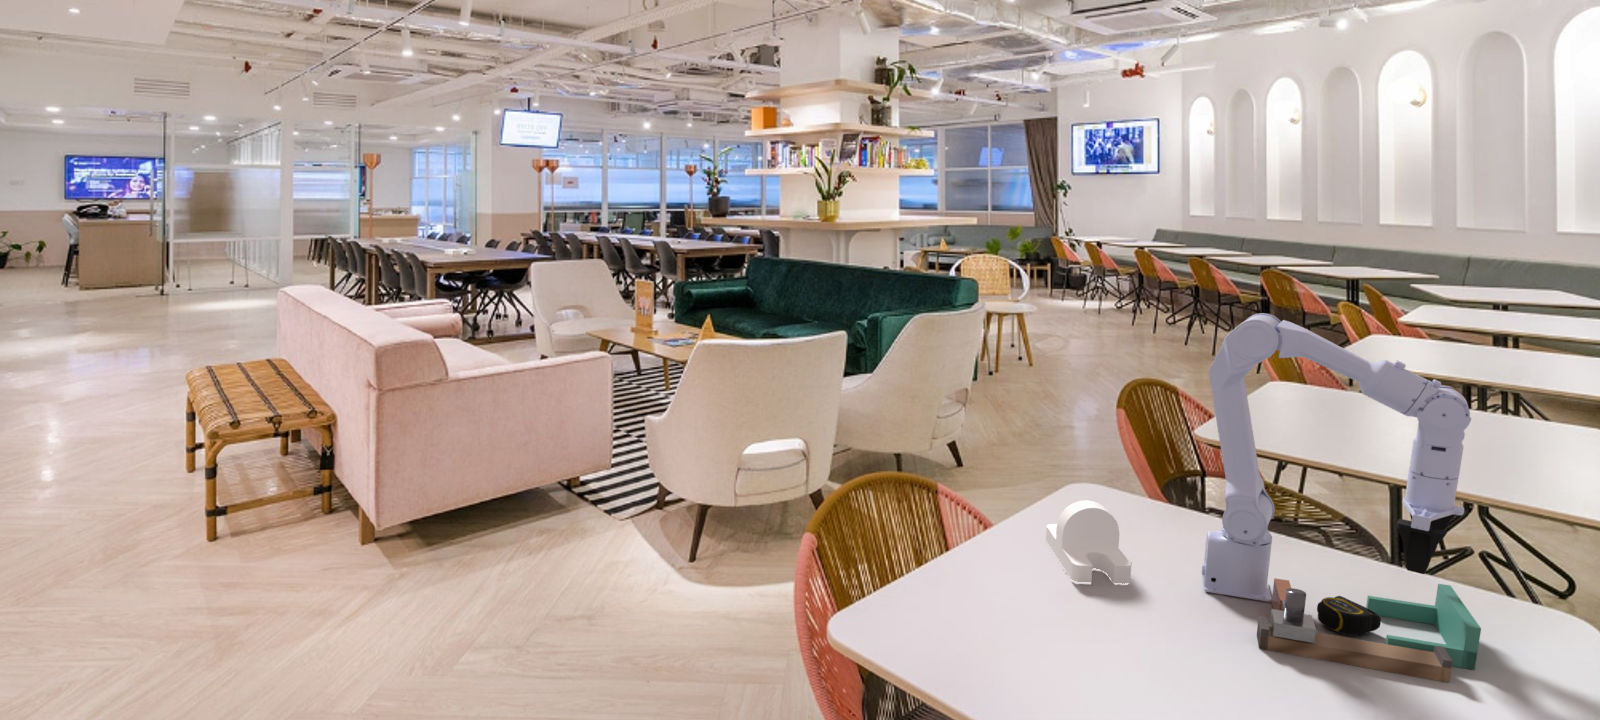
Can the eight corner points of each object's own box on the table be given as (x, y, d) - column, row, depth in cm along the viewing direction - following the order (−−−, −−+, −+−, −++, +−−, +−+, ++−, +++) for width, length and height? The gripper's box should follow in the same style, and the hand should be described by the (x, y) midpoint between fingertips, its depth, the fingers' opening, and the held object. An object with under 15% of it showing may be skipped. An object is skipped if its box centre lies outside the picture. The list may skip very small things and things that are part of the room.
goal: (1386, 654, 119) (1391, 614, 118) (1365, 610, 132) (1370, 573, 131) (1474, 670, 116) (1481, 628, 114) (1444, 623, 128) (1450, 585, 127)
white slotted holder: (1096, 543, 158) (1100, 486, 156) (1132, 586, 141) (1137, 523, 139) (1043, 542, 159) (1047, 486, 157) (1072, 586, 141) (1076, 523, 139)
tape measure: (1382, 636, 125) (1385, 612, 124) (1345, 643, 123) (1349, 619, 122) (1339, 615, 131) (1342, 592, 130) (1304, 621, 129) (1307, 598, 128)
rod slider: (1271, 648, 120) (1277, 595, 119) (1260, 599, 135) (1266, 551, 133) (1313, 656, 118) (1319, 602, 117) (1297, 605, 133) (1303, 557, 131)
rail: (1259, 648, 121) (1261, 628, 120) (1256, 635, 125) (1258, 615, 124) (1449, 682, 113) (1452, 661, 112) (1440, 667, 116) (1443, 646, 116)
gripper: (1463, 492, 115) (1447, 588, 117) (1474, 467, 125) (1460, 555, 128) (1399, 480, 119) (1385, 572, 122) (1415, 457, 130) (1402, 542, 132)
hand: (1419, 563), depth 125 cm, fingers open, 7 cm apart
